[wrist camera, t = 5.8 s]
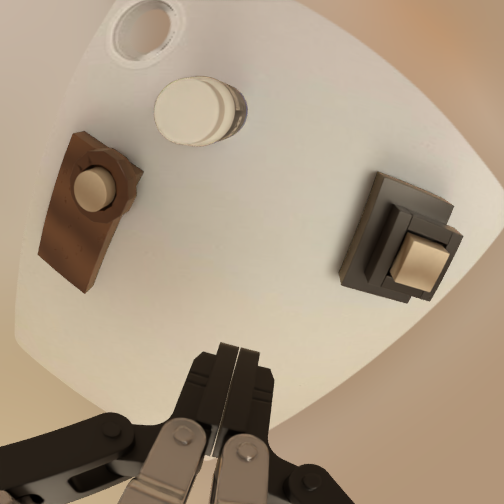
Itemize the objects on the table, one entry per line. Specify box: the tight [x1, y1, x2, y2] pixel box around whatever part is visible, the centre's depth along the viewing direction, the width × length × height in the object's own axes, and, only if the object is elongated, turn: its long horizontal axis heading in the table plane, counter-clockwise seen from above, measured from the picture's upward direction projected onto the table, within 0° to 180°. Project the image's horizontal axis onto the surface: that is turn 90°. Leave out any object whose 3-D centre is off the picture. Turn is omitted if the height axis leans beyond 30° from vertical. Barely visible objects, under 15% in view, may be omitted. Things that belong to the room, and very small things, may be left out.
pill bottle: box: [154, 76, 248, 146], centre depth 19 cm, size 5×5×8 cm
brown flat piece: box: [38, 131, 143, 294], centre depth 27 cm, size 17×9×4 cm, turn 145°
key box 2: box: [339, 172, 463, 303], centre depth 24 cm, size 10×8×4 cm
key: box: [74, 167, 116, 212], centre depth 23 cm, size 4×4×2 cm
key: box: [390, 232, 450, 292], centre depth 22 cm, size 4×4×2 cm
